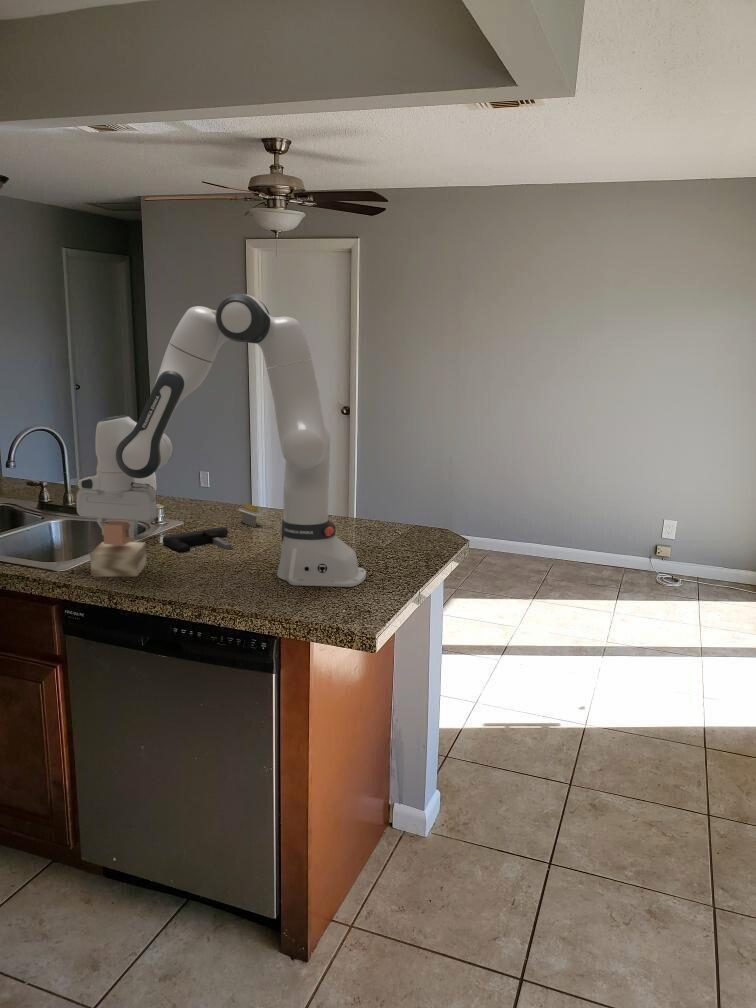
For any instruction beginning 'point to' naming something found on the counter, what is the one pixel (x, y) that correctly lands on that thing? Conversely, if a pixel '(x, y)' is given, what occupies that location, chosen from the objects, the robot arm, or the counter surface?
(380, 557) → the counter surface
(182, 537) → the black clamp
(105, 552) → the birch box
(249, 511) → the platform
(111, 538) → the terracotta block
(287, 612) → the counter surface
